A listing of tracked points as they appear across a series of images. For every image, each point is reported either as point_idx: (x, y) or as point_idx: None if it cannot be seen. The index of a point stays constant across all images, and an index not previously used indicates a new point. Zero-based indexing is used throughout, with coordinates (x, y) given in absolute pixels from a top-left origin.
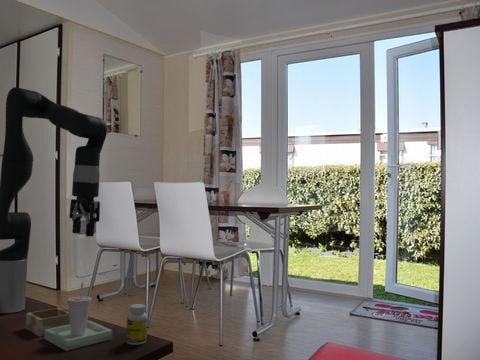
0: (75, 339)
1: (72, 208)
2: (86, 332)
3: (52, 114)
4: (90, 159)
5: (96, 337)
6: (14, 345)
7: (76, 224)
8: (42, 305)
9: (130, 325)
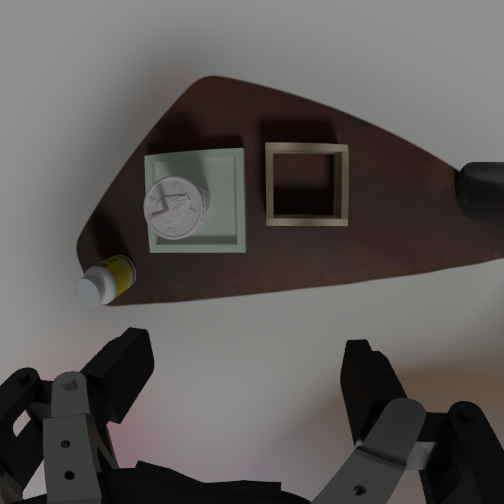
0: (145, 173)
1: (475, 494)
2: None
3: None
4: None
5: None
6: (243, 96)
7: (358, 399)
8: (466, 255)
9: (98, 263)
